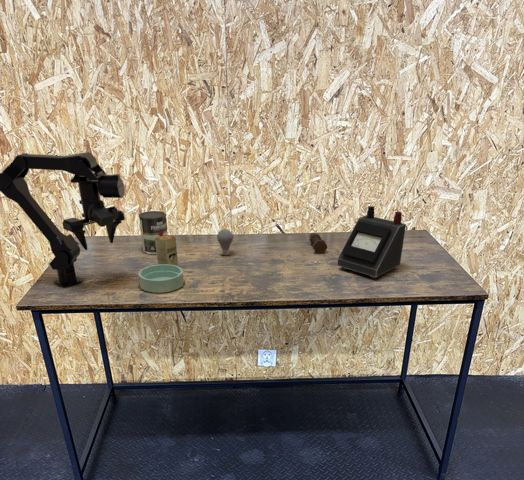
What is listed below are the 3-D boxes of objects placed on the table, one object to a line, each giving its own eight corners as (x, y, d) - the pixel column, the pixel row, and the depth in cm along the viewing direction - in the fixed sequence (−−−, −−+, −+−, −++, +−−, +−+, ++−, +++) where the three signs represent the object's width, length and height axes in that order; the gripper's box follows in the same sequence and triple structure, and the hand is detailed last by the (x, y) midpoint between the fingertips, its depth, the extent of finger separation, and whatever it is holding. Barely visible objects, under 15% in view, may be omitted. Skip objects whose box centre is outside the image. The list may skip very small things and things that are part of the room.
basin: (131, 285, 166) (129, 272, 163) (166, 273, 175) (164, 261, 172) (157, 297, 157) (156, 284, 155) (192, 284, 166) (191, 271, 164)
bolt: (314, 245, 206) (321, 256, 193) (304, 239, 204) (310, 250, 191) (322, 233, 203) (329, 243, 190) (312, 227, 202) (318, 237, 189)
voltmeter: (336, 269, 178) (340, 213, 168) (361, 257, 188) (367, 204, 178) (374, 281, 168) (382, 223, 158) (399, 268, 179) (407, 213, 168)
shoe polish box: (178, 269, 177) (175, 237, 171) (168, 274, 174) (165, 240, 168) (168, 267, 180) (164, 234, 174) (158, 271, 176) (154, 238, 170)
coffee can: (174, 250, 195) (171, 214, 188) (151, 256, 189) (147, 219, 182) (160, 244, 202) (157, 209, 194) (138, 249, 196) (133, 214, 188)
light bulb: (225, 251, 194) (224, 226, 189) (236, 254, 191) (236, 229, 186) (214, 255, 190) (213, 229, 185) (226, 258, 187) (225, 232, 182)
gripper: (75, 207, 141) (85, 259, 149) (131, 196, 153) (137, 245, 161) (56, 201, 148) (67, 251, 156) (111, 190, 159) (118, 237, 167)
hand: (99, 246), depth 160 cm, fingers open, 9 cm apart
